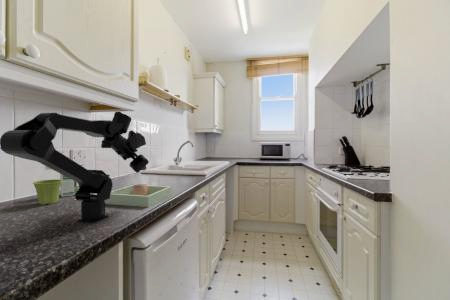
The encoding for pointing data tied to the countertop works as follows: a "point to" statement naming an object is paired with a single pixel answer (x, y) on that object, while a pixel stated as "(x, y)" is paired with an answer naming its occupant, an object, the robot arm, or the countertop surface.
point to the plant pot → (47, 191)
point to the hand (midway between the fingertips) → (139, 163)
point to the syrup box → (67, 186)
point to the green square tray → (139, 196)
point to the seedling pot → (139, 189)
